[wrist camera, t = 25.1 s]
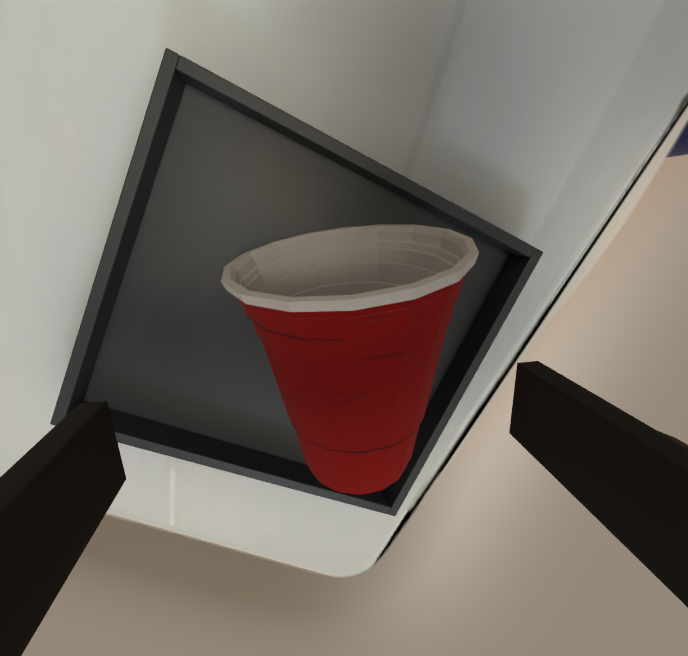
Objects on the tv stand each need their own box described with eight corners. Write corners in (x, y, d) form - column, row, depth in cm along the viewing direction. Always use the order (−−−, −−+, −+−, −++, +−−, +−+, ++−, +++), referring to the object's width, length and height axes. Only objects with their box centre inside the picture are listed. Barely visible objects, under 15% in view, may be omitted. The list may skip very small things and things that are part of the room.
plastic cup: (240, 426, 24) (204, 236, 19) (389, 383, 28) (392, 215, 23) (287, 589, 15) (241, 305, 10) (499, 492, 19) (545, 251, 14)
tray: (517, 248, 24) (543, 252, 21) (385, 490, 28) (395, 516, 25) (180, 68, 18) (165, 46, 16) (73, 402, 22) (49, 424, 20)
